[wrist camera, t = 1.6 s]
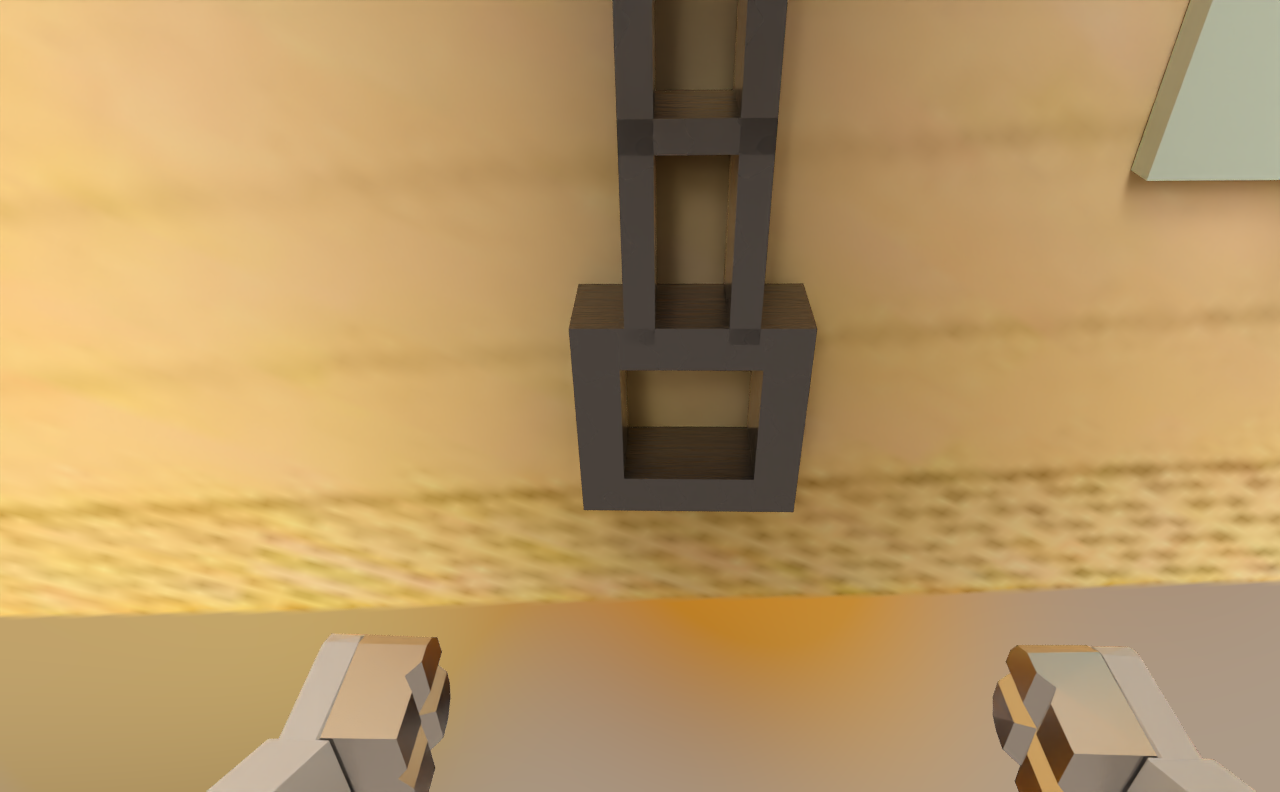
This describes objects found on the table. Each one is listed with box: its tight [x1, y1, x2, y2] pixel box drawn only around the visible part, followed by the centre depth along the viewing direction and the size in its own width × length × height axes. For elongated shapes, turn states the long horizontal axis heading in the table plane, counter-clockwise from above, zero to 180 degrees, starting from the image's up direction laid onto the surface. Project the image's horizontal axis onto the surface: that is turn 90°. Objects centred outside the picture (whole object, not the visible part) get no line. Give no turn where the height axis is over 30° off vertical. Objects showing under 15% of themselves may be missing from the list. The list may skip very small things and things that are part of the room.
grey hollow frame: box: [569, 0, 817, 512], centre depth 25 cm, size 21×8×3 cm, turn 1°
